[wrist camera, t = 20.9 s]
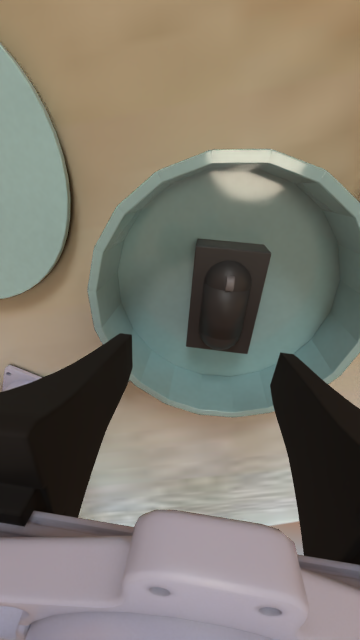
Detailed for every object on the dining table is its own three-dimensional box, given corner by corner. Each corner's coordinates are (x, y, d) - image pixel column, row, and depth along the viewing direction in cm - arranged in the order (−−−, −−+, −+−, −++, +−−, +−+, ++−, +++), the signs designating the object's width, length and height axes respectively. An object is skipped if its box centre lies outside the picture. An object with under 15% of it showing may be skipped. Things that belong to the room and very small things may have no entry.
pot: (419, 302, 19) (476, 335, 15) (173, 411, 28) (166, 452, 23) (322, 42, 14) (372, -21, 9) (48, 278, 22) (9, 300, 18)
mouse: (244, 337, 22) (250, 367, 18) (188, 330, 22) (183, 359, 19) (264, 244, 18) (277, 259, 15) (197, 238, 19) (193, 251, 15)
